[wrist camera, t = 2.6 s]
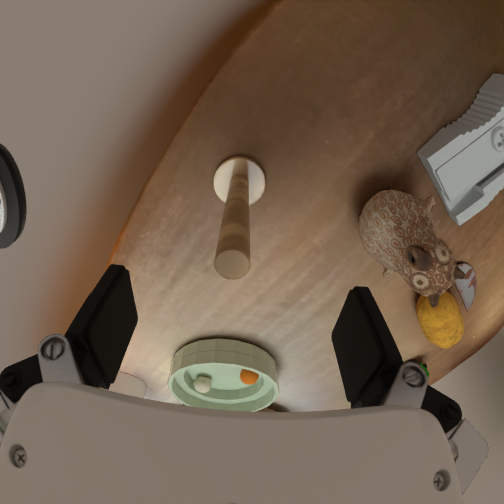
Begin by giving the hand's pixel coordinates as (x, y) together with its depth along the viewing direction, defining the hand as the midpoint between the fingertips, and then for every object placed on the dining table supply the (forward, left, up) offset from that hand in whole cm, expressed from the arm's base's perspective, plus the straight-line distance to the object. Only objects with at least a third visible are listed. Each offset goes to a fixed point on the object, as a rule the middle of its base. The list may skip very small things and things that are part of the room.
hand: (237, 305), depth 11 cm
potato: (+32, -15, -18) cm, 39 cm away
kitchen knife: (+36, -9, -18) cm, 41 cm away
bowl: (0, -31, -18) cm, 36 cm away
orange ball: (+4, -30, -16) cm, 34 cm away
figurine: (+16, -1, -18) cm, 24 cm away
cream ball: (-4, -34, -16) cm, 37 cm away
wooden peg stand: (0, 0, -18) cm, 18 cm away
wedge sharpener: (+29, +11, -18) cm, 36 cm away
